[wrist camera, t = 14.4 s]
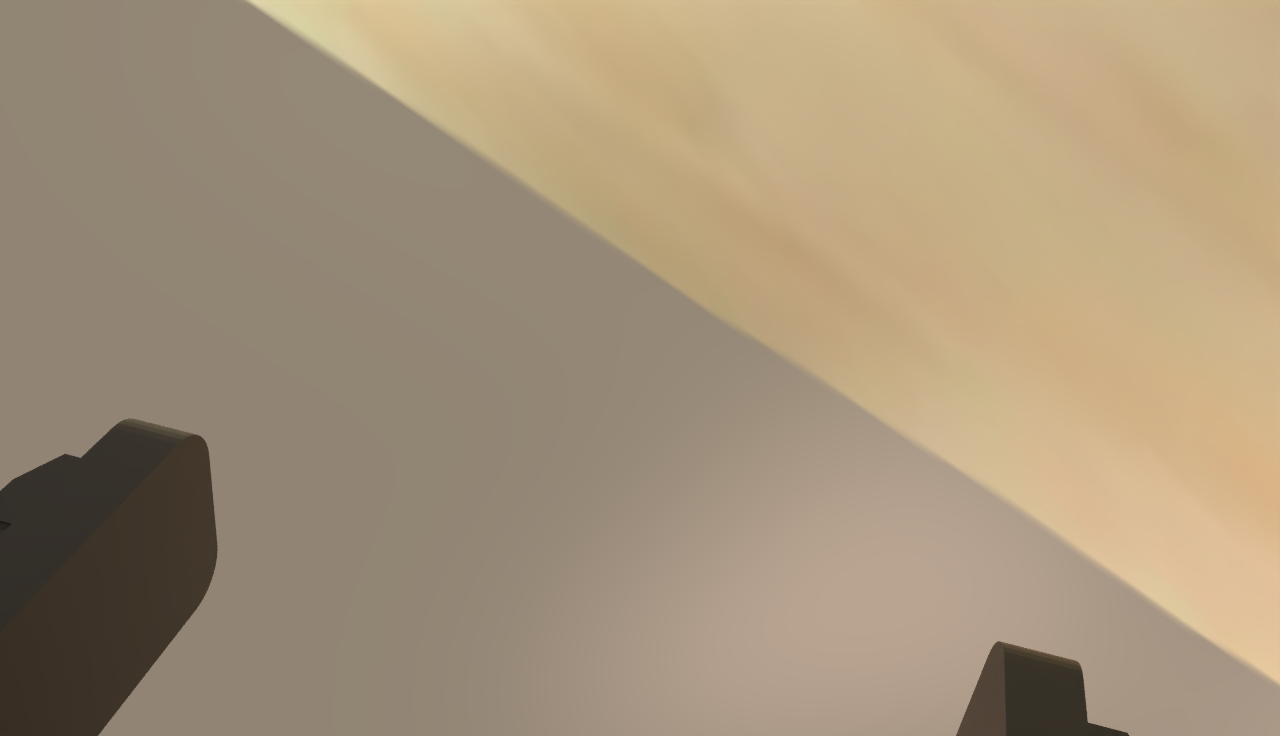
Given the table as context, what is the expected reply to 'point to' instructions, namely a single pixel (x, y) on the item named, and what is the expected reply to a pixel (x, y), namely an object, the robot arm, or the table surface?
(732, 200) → the table surface
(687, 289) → the table surface
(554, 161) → the table surface
